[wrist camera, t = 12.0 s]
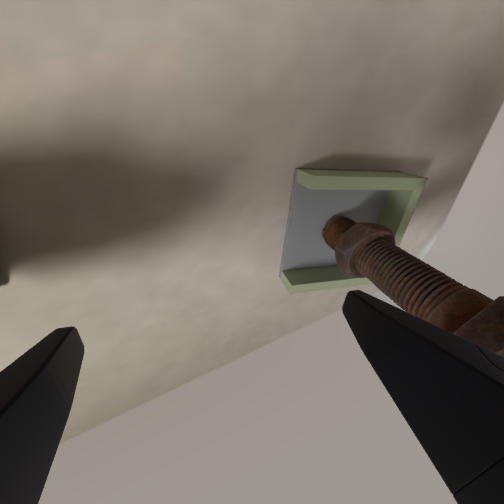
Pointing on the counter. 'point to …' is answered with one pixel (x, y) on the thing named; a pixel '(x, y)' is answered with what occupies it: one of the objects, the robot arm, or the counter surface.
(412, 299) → the bolt
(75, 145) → the counter surface
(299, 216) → the green square tray
